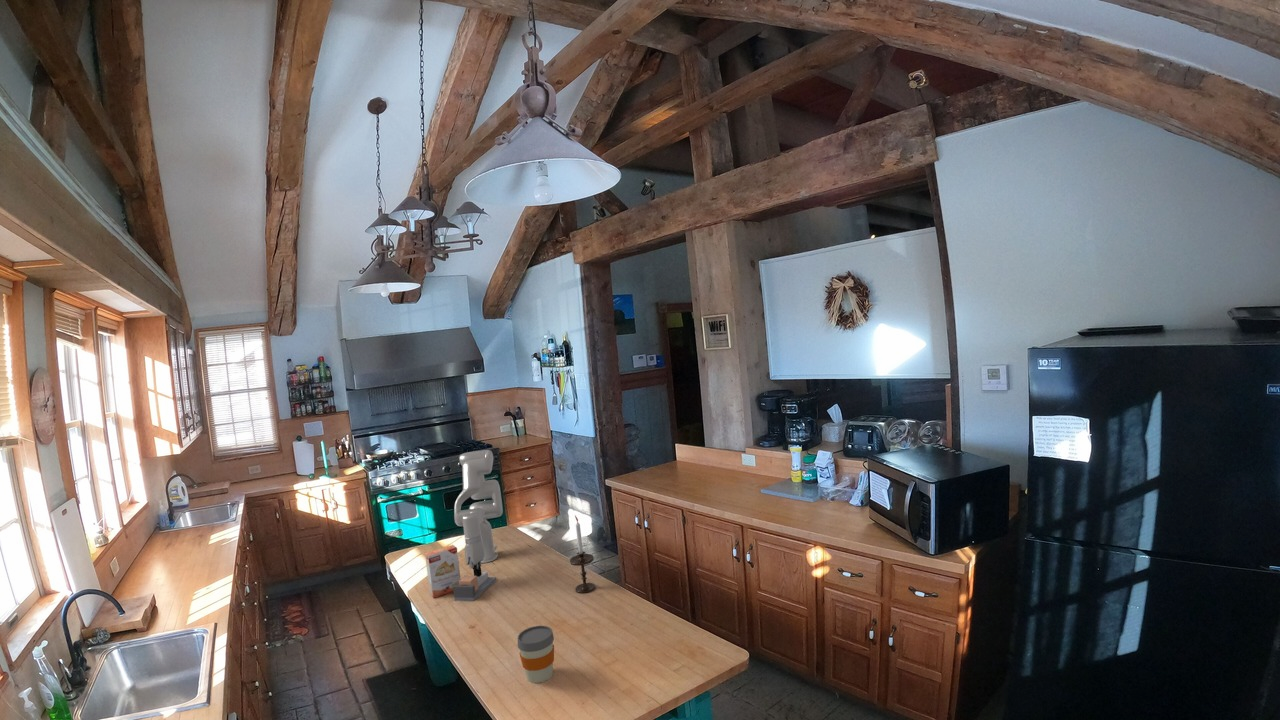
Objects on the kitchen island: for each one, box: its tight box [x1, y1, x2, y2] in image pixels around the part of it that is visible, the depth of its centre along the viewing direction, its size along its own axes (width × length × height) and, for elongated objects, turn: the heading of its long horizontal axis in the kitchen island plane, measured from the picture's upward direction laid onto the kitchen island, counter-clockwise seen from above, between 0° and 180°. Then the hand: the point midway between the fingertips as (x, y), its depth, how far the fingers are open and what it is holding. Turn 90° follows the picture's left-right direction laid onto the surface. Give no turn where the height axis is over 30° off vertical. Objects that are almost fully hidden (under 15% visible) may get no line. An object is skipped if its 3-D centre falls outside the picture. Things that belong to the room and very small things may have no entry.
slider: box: [458, 575, 478, 592], centre depth 286 cm, size 6×6×7 cm
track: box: [453, 571, 498, 602], centre depth 292 cm, size 22×10×6 cm, turn 165°
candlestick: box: [569, 515, 596, 595], centre depth 279 cm, size 11×11×35 cm
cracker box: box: [424, 544, 462, 599], centre depth 293 cm, size 14×6×21 cm, turn 125°
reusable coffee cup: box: [517, 625, 555, 684], centre depth 213 cm, size 13×13×15 cm
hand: (478, 575), depth 295 cm, fingers closed
